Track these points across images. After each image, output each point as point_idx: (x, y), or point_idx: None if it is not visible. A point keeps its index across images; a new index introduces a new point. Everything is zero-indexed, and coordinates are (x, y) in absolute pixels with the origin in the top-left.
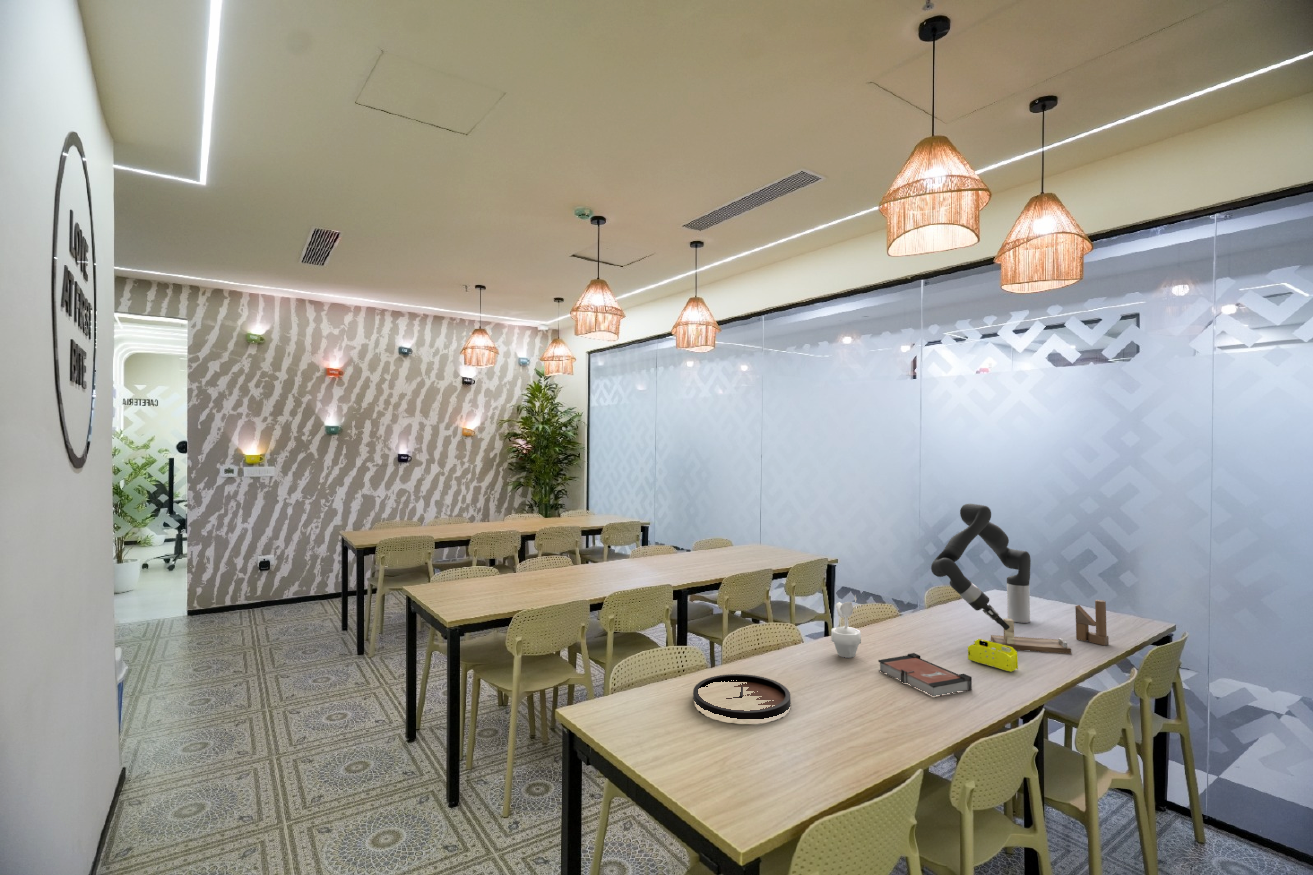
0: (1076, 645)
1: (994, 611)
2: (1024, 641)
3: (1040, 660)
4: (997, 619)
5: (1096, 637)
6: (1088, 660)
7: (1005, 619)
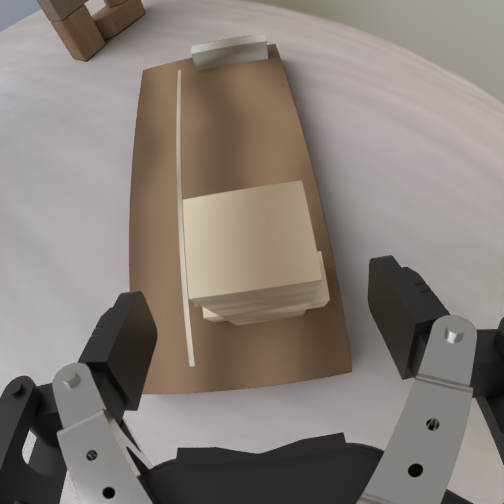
0: (152, 52)
1: (447, 474)
2: None
3: (448, 174)
4: (138, 363)
5: (123, 10)
6: (335, 36)
7: (245, 275)
